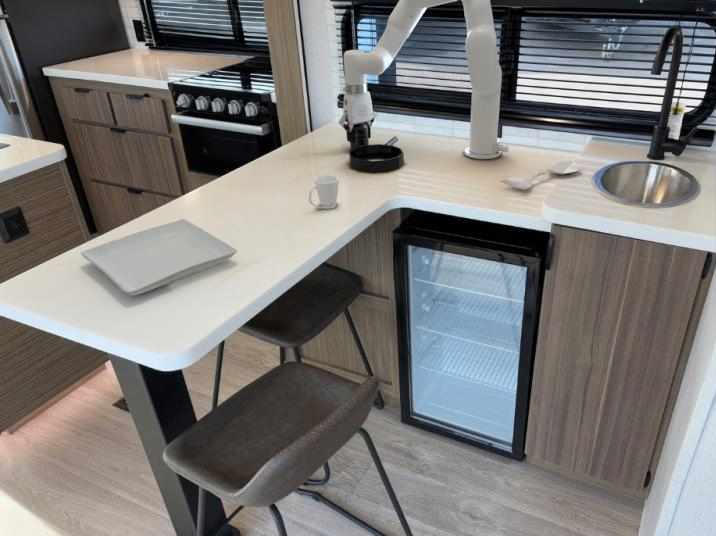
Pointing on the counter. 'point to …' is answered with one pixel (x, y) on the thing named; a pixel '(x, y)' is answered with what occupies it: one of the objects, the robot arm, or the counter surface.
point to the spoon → (556, 168)
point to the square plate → (158, 256)
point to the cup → (326, 191)
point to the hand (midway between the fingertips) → (359, 139)
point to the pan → (377, 157)
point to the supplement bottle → (360, 135)
